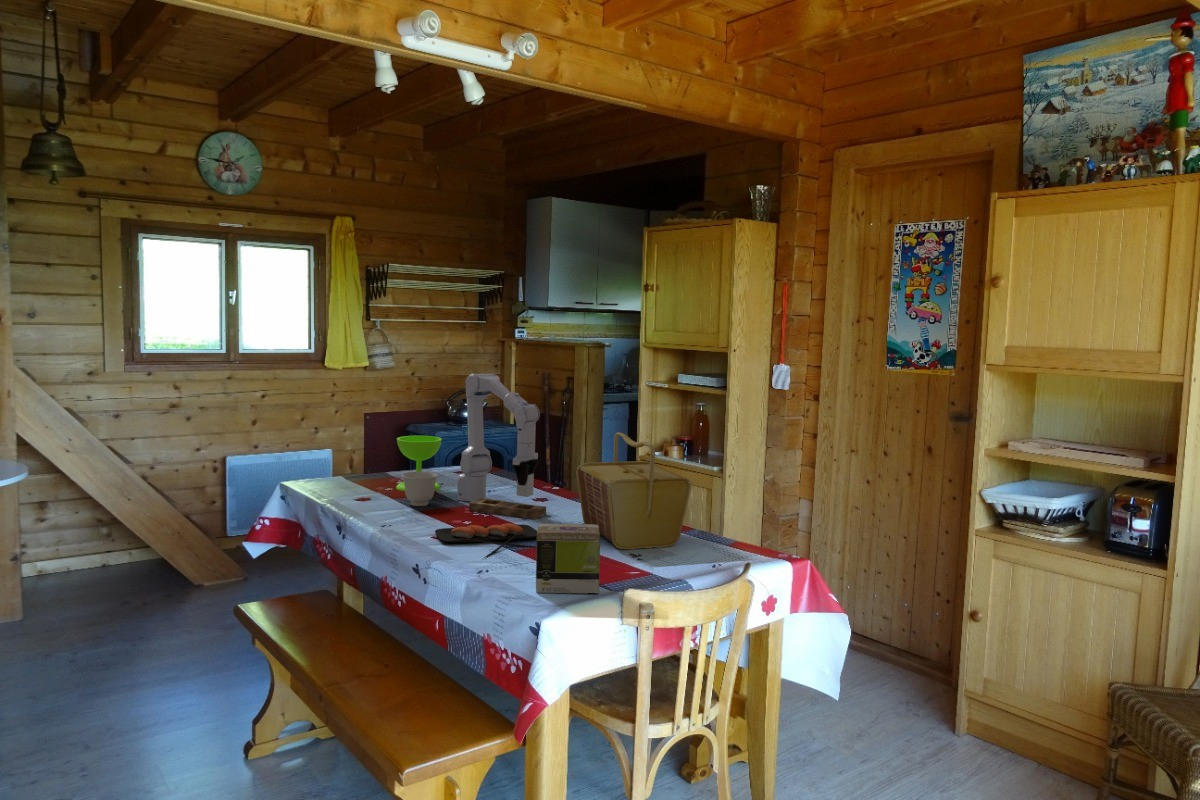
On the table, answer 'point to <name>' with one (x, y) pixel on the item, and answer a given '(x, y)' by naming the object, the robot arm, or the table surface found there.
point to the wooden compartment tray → (507, 508)
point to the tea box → (567, 558)
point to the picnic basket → (633, 500)
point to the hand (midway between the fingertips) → (524, 483)
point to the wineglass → (418, 451)
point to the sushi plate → (487, 534)
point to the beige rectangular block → (526, 486)
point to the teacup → (419, 487)
